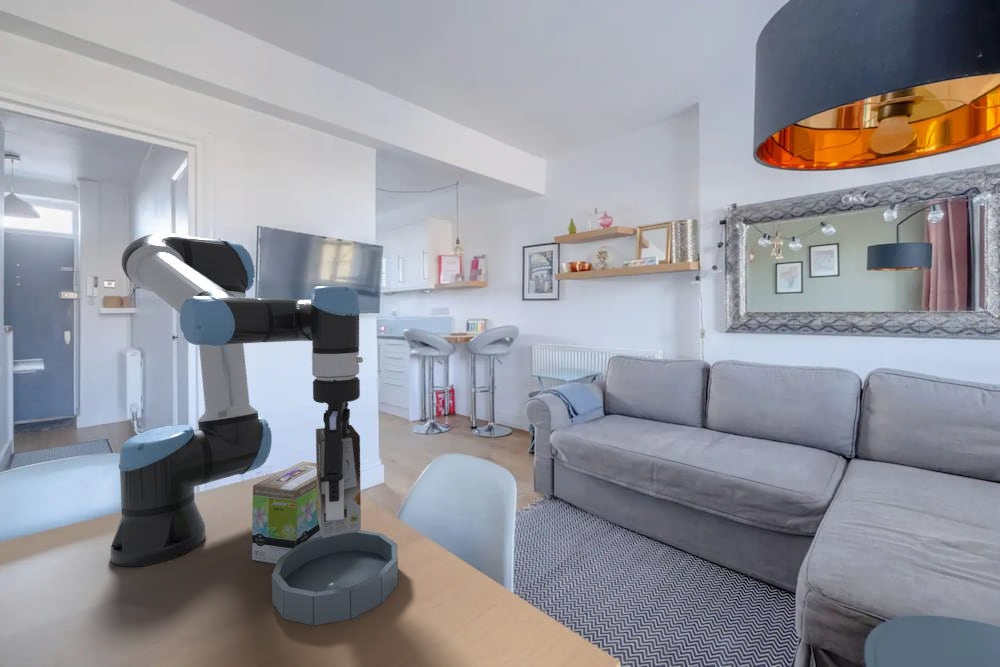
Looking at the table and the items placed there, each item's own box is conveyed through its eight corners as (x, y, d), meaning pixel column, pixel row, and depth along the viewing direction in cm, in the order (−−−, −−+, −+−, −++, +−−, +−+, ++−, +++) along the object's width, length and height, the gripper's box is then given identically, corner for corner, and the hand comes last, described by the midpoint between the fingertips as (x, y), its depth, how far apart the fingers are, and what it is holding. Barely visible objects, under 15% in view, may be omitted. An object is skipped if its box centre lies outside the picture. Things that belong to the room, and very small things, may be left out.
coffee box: (362, 530, 74) (361, 435, 73) (321, 539, 71) (320, 440, 70) (352, 509, 82) (351, 423, 81) (315, 516, 79) (314, 427, 78)
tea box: (297, 568, 82) (296, 489, 81) (250, 561, 84) (249, 485, 83) (342, 529, 97) (341, 463, 96) (301, 525, 99) (300, 459, 98)
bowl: (288, 560, 84) (287, 537, 84) (396, 547, 89) (395, 525, 89) (259, 634, 65) (259, 604, 65) (399, 611, 70) (399, 583, 70)
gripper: (355, 386, 66) (357, 533, 66) (362, 368, 87) (363, 479, 88) (300, 388, 64) (303, 539, 65) (322, 370, 85) (323, 483, 86)
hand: (338, 505), depth 76 cm, fingers closed on coffee box, 10 cm apart
